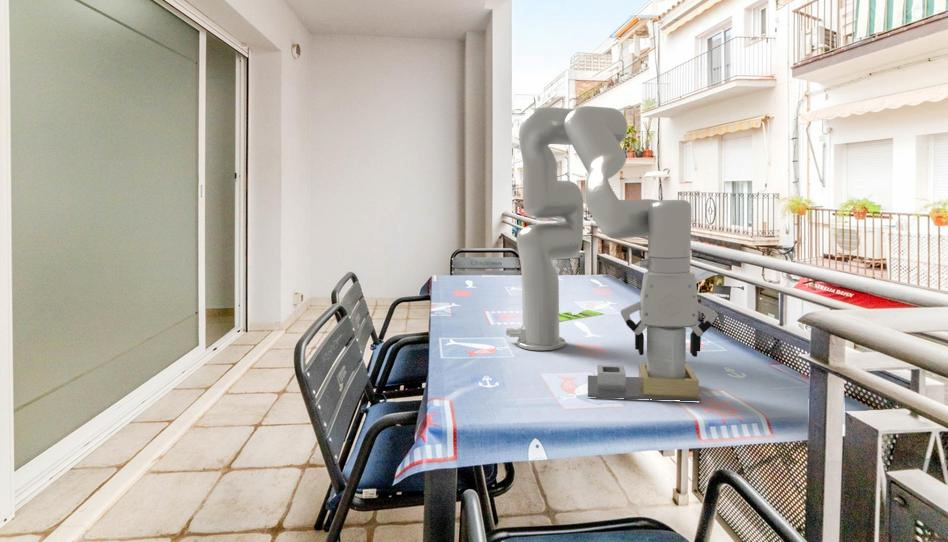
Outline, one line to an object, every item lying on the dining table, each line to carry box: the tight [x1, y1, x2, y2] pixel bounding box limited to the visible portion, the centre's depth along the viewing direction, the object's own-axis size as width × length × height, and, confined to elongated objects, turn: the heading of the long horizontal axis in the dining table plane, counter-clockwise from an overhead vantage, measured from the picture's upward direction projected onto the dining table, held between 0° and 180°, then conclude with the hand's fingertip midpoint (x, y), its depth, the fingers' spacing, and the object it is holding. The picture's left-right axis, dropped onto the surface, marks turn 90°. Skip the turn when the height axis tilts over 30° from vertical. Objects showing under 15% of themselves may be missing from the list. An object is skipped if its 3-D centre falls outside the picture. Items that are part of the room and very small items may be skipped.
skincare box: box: [646, 326, 687, 378], centre depth 101 cm, size 6×4×12 cm
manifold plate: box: [587, 362, 701, 402], centre depth 103 cm, size 20×11×4 cm, turn 78°
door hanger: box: [559, 309, 604, 323], centre depth 171 cm, size 9×1×25 cm
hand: (666, 354), depth 101 cm, fingers open, 9 cm apart
